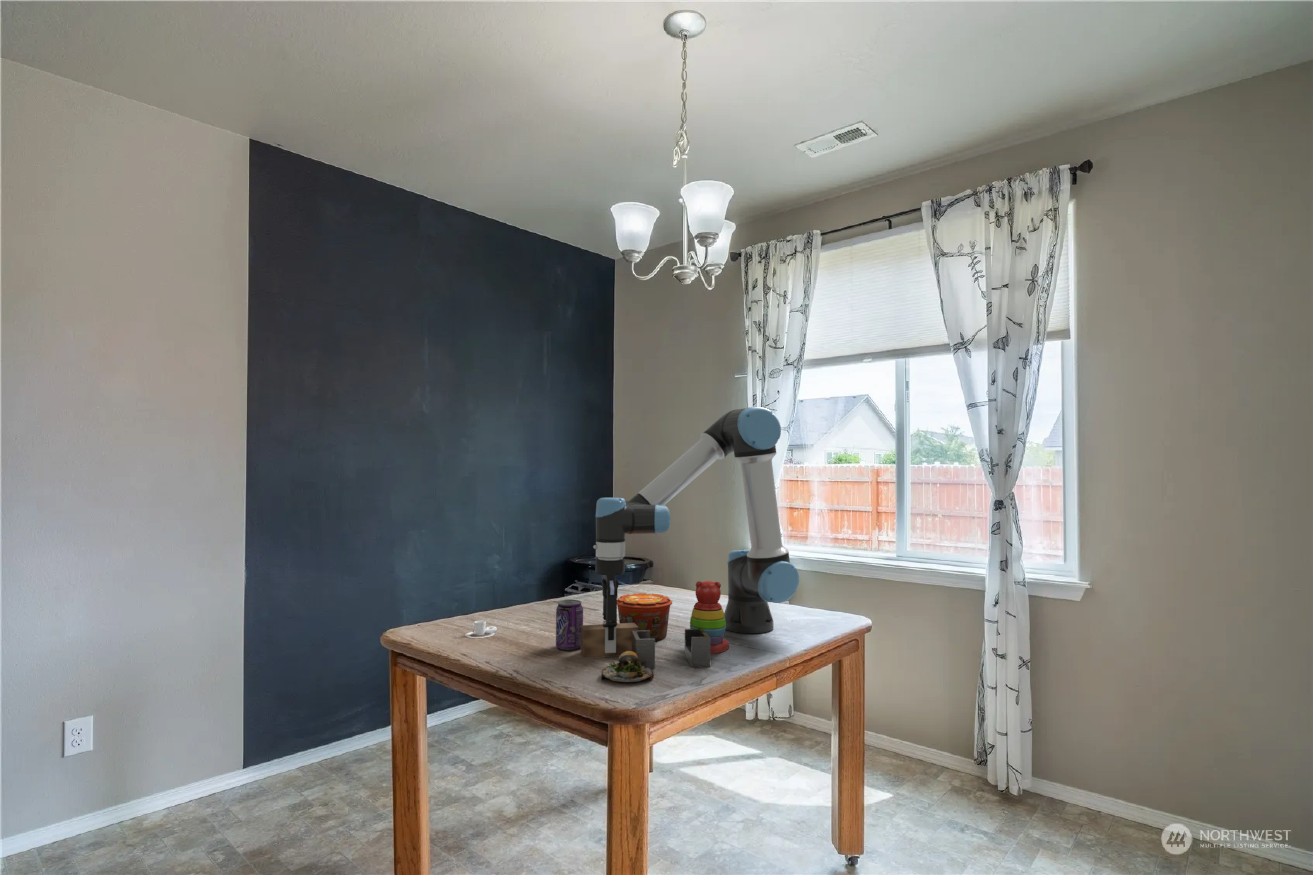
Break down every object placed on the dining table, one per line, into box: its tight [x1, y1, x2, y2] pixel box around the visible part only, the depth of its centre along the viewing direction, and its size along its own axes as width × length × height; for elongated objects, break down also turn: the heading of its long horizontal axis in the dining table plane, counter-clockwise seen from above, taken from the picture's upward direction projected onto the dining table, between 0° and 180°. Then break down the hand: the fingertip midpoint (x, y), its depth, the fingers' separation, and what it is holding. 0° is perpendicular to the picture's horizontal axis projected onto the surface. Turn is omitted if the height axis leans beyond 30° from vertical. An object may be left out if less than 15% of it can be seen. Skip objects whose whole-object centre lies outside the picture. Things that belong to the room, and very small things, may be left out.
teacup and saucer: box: [464, 620, 497, 639], centre depth 195 cm, size 9×8×4 cm
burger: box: [600, 651, 655, 683], centre depth 157 cm, size 12×12×8 cm
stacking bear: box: [689, 580, 730, 655], centre depth 182 cm, size 11×10×18 cm
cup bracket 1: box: [632, 630, 656, 670], centre depth 168 cm, size 4×9×7 cm, turn 9°
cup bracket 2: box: [684, 628, 711, 669], centre depth 170 cm, size 4×9×7 cm, turn 9°
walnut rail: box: [580, 623, 638, 659], centre depth 177 cm, size 14×5×7 cm, turn 103°
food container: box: [617, 592, 673, 642], centre depth 194 cm, size 16×16×11 cm
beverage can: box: [555, 599, 584, 651], centre depth 182 cm, size 7×7×12 cm
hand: (609, 649), depth 177 cm, fingers closed on walnut rail, 5 cm apart
